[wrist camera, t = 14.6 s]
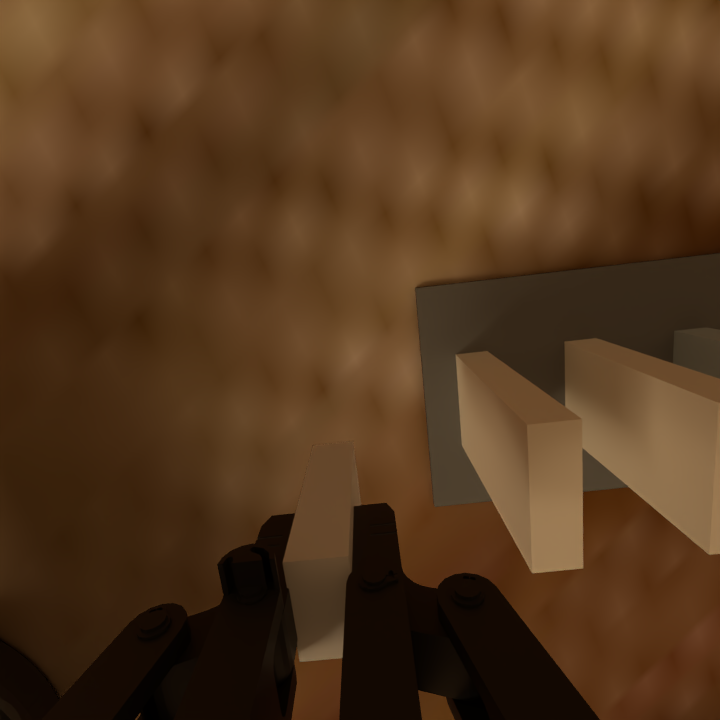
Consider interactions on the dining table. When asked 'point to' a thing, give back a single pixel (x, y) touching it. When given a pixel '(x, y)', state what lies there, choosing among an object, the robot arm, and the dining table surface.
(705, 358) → the domino
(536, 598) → the dining table surface
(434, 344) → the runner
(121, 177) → the dining table surface
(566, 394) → the domino
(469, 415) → the domino
